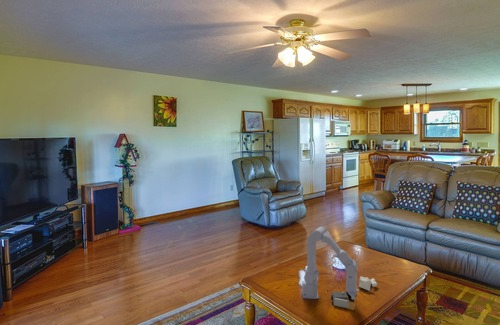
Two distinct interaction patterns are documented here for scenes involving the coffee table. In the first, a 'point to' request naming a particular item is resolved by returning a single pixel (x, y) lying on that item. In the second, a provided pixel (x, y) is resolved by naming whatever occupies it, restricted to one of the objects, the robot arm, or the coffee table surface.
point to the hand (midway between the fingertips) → (351, 304)
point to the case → (339, 295)
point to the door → (343, 303)
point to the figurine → (366, 283)
